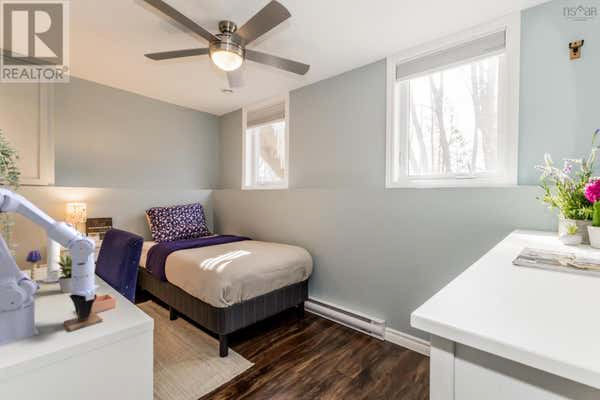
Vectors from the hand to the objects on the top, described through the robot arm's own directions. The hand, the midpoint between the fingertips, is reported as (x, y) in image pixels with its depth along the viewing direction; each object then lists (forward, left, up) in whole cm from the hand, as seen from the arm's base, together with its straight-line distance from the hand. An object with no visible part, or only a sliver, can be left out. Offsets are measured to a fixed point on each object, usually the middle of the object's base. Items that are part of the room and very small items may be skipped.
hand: (83, 316), depth 85 cm
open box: (+7, +8, -2) cm, 11 cm away
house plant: (+4, +41, -2) cm, 41 cm away
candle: (+4, +63, -2) cm, 63 cm away
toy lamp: (-4, +54, -2) cm, 54 cm away
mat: (0, 0, -2) cm, 2 cm away
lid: (0, 0, -2) cm, 2 cm away
